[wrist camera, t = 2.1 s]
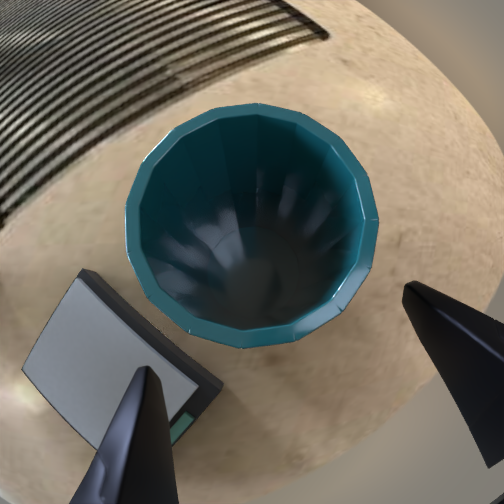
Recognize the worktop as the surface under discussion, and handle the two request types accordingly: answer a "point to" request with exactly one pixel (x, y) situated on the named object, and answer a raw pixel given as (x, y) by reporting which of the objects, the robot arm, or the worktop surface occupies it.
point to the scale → (110, 362)
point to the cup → (251, 225)
